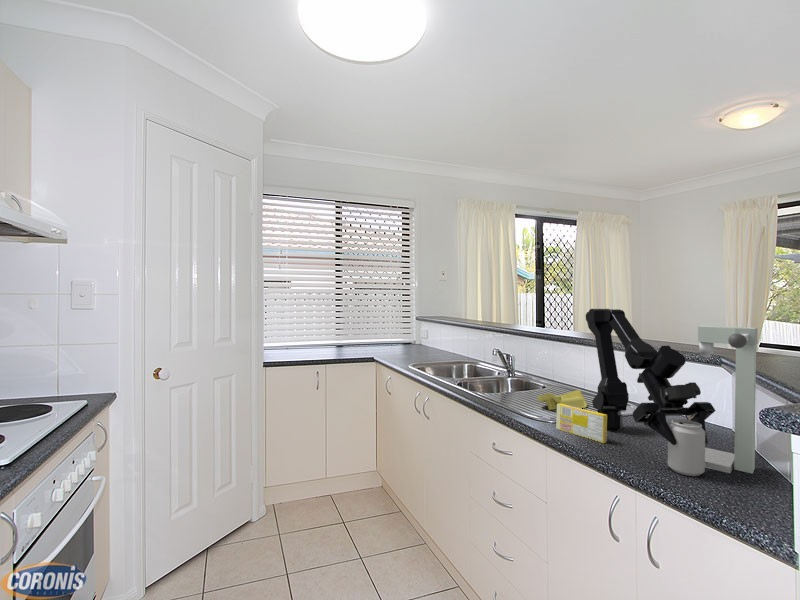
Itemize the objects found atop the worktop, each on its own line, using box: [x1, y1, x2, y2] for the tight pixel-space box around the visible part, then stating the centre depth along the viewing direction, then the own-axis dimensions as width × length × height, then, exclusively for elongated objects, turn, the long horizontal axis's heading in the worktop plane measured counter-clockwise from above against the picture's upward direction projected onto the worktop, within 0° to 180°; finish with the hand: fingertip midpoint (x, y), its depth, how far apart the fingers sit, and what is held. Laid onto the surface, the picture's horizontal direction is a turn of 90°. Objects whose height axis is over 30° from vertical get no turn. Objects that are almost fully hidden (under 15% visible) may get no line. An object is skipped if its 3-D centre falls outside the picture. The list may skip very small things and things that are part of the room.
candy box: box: [555, 403, 608, 444], centre depth 129 cm, size 16×2×8 cm, turn 33°
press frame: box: [697, 325, 758, 475], centre depth 101 cm, size 11×21×35 cm, turn 135°
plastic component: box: [536, 390, 588, 411], centre depth 160 cm, size 20×7×10 cm
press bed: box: [705, 447, 734, 474], centre depth 109 cm, size 12×12×2 cm
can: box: [667, 418, 706, 477], centre depth 102 cm, size 8×8×12 cm
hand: (690, 443), depth 101 cm, fingers closed on can, 7 cm apart
